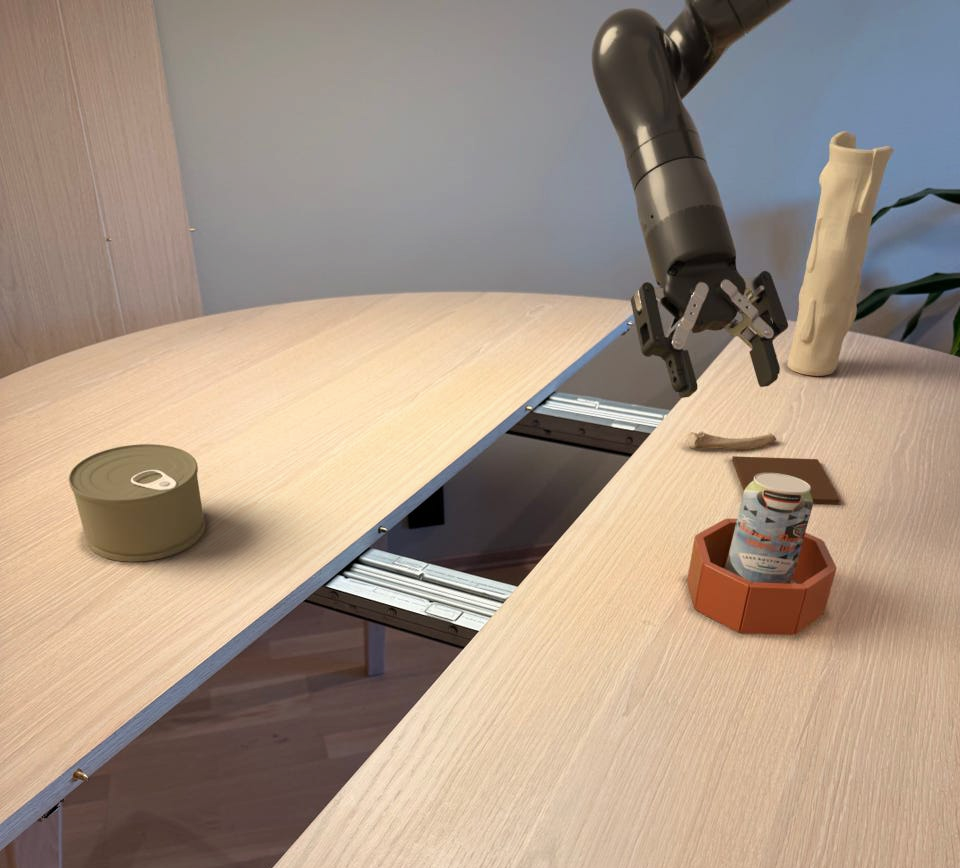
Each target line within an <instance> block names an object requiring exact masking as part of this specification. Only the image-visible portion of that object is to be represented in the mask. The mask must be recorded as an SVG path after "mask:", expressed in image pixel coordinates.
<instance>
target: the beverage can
mask: <svg viewBox="0 0 960 868" xmlns="http://www.w3.org/2000/svg"><path fill="white" fill-rule="evenodd" d="M810 489H811V487H810V485H809V484H808V483H807V482H805V481H803V480H801V479H799V478H796V477H793V476H789V475H785V474H779V473H760V474H757V475H755V477H754V480H753V481H752V482H751V483H750V484H749V485H748V486H747V487H746V488H745V490H743V494H742V497H741V502H740V506H739V509H738V514H737V517H736V519H737V522H736V526H735V530H734V534H733V538H732V543H731V547H730V551H729V555H728V559H727V563H726V567H725V568H724V569H726V570H728V571H730V572H732V573H734V574H736V575H738V576H740V577H742V578H744V579H746V580H748V581H750V582H759V583H787V584H792V582H793V581H792V578H793V574H794V571H795V567H796V564H797V560H798V557H799V553H800V550H801V546H802V542H803V539H804V535H805V532H806V533H807V528H808V524H809V521H810V518H811V514H812V510H813V508H814V507H813V506H814V503H813V499H812V496H811V494H810Z"/></svg>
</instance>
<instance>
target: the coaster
mask: <svg viewBox="0 0 960 868" xmlns="http://www.w3.org/2000/svg"><path fill="white" fill-rule="evenodd" d="M731 462H732V465H733V466H734V467H733V468H734V469H735V473H736V474H737V477H738V479H739V482H740V485H741V488H742V489H743V491H744V490H745V488H746V487H747V486H748V485H749V484H750V483H751V482H752V481H753V480H754V477H755V475H757V474H760V473H779V474H785V475H789V476H793V477H796V478H799V479H801V480H803V481H805V482H807V483H808V484H809V485H810V487H811V489H810V494H811V496H812V499H813V504H820V505H821V504H822V505H825V504H826V505H840V502H841V498H840V497H839V495H838V493H837V492H836V490H835V488H834V486H833V484H832V482H831V481H830V478H829V477H828V475H827V473H826V472H825V470H824V468H823V466H822V465H821V463H820V461H819V459H818V458H795V457H766V456H765V457H763V456H737V455H735V456H734V455H733V456H732V458H731Z"/></svg>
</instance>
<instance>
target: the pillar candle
mask: <svg viewBox="0 0 960 868" xmlns="http://www.w3.org/2000/svg"><path fill="white" fill-rule="evenodd" d="M828 148H829V149H828V150H829V157H828V162H827V163H826V164H825V166H824V167H823V169H822V171H821V172H820V175H819V178H818V182H819V183H818V184H819V186H820V189H821V190H820V197H819V201H818V203H819V204H818V207H817V213H816V220H815V224H814V231H813V235H812V240H811V245H810V248H809V252H808V256H807V260H806V265H805V272H804V277H803V281H802V285H801V287H800V291H799V294H798V314H797V318H796V324H795V328H794V333H793V337H792V343H791V347H790V351H789V354H788V358H787V367H788V368H789V370H791V371H793V372H796V373H798V374H802V375H806V376H812V377H813V376H815V377H820V376H821V377H823V376H829V375H831V374H833V373H834V372H835V371H836V369H837V367H838V363H839V359H840V355H841V350H842V348H843V347H842V346H843V342H844V339H845V338H846V336H847V334H848V333H849V331H850V330H851V328H852V325H853V324H854V322H855V320H856V317H857V312H858V308H857V307H858V306H857V298H858V294H859V289H860V286H861V283H862V275H861V274H862V269H863V264H864V260H865V256H866V251H867V248H868V240H869V235H870V229H871V224H872V220H873V216H874V211H875V207H876V204H877V200H878V196H879V192H880V188H881V184H882V183H883V178H884V174H885V171H886V167H887V164H888V162H889V160H890V158H891V156H892V155H893V152H894V148H893V147H892V146H889V145H885V146H881V147H874V148H873V149H858V148H857V137H856V135H855V134H852V133H850V132H849V131H846V130H843V131H839V132H838V133H835V135H833V136H832V137H831V139H830V142H829V147H828Z"/></svg>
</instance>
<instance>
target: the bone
mask: <svg viewBox="0 0 960 868" xmlns="http://www.w3.org/2000/svg"><path fill="white" fill-rule="evenodd" d="M775 441H777V437H776V436H775V435H774V434H773V433H768V434H765V435H760V436H753V437H752V436H751V437H742V438H731V437H729V438H728V437H721V436H719V435H718V436H717V435H712V434H709V433H706V432H704V431H700V432H698V433H697V432H693V431H691V432H689V433H688V434H687V435H686V439H685V444H686V446H687V447H688V448H689V449H698V448H711V449H715V448H716V449H717V448H718V449H724V450H725V449H726V450H751V449H756V448H760V447H763V446H764V445H767V444H770V443H773V442H775Z"/></svg>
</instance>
